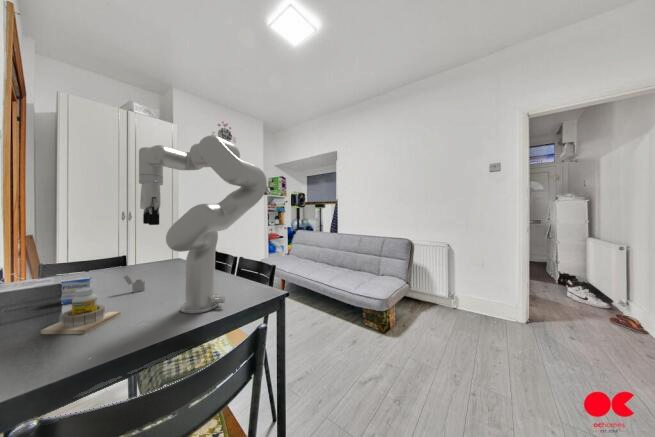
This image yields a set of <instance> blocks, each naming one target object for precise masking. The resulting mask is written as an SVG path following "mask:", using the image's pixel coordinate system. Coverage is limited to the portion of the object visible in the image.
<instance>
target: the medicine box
mask: <svg viewBox="0 0 655 437" xmlns="http://www.w3.org/2000/svg"><path fill="white" fill-rule="evenodd" d="M60 282H61V283H62V291H63V295H62V303H63V305H69V304H72V300H73V298H74V297H76V295H75V291H76V290H78V289H82V288H90V287H92V276H85V277H77V278H75V277H74V278H67V279H66V278H65V279H62V280H60ZM68 303H69V304H68Z"/></svg>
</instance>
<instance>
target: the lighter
mask: <svg viewBox="0 0 655 437" xmlns="http://www.w3.org/2000/svg"><path fill="white" fill-rule="evenodd" d="M122 277H123V279H124V281H126V283H127V284H128V285H132V287H131V288H132V289H131V290H132V293H140V292H145V291H146V290H145V284H146V281H145V280H143V279H142V278H138V279H135V281H132V280H131V278H130V277H129V275H128V274H125V275H123V276H122Z"/></svg>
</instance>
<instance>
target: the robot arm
mask: <svg viewBox="0 0 655 437" xmlns="http://www.w3.org/2000/svg"><path fill="white" fill-rule="evenodd" d="M164 168H168V169H169V168H170V169H174V170H178V171H198V170H201V169H203V168H211V169H212V170H213V171H214V172H215V173H216V174H217V175H218V176H219V178H221V179H222V180H223V181H224V182H225V183H228V184H229V185H232V186H235V187H239V188H237V189H234V190H233V191H232V192H230V193H228V195H226V196H225V197H224V198H223V199H222V200H220V201H219V202H218V203H200V204H197V205H195V206H192V207H191V208H189V209H188V211H186V212H185V213H184V214H183V215H182V216H181V217H180V218H178V220H176V221H175V222H174V223H172V225H171V226H170V227H169V229H168V231H167V232H166V235H165V243H166V245H167V247H168V248H169V249H170V250H172V251H173V252H174V251H175V252H187V256H186V259H185V302H184V303H182V304H181V305H180V312H182V313H185V314H201V313H206V312H210V311H211V310H214V309H216V308H217V307H219V305H220V304H225V302H226V297H225V296H224V295H218V291H216V290H215V289H216V286H215V285H216V282H215V281H216V279H215V278H216V250H217V244H218V240H219V232H222V231H225V230H227V229H228V228H230V227H231V226H232V225H234V224H235V223H236V221H238V220H239V219H241V217H243V216H244V215H245V214H246V213H247V212H248V211H249V210H251V209H252V208H253V207H254V206H256V205H257V204H258V202H260V201H261V199H262V198H263V196H264V195H265V193H266V190H267V184H268V183H267V177H266V175H265V172H264V171H263V170H262V169H261V168H260V167H258V166H257V165H255V164H252V163H250V162H248V161H245V160H242V159H241V154H240V151H239V149H238V147H237V146H236V145H235V144H233V143H231V142H230V141H228V140H226V139H224V138H221V137H220V136H216V135H206V136H204V137H202V138H201V139H200V141H199V143H195V144H193V145H192V146H191V147H190V148H189V151H187V152H186V151H181V150H179V149H175V148H172V147H169V146H165V145H161V144H157V145H152V146H150V147H148V146H147V147H146V146H143V147H140V148H139V149H138V184H140V185H141V186H140V201H139V202H140V204H139V208H140V209H141V210H143V214H142V216H143V217H142V219H143V220H142V223H143V224H144V225H146V224H148V225H149V226H159V225H160V209H161V186H163V185H164Z"/></svg>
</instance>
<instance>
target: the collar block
mask: <svg viewBox="0 0 655 437" xmlns="http://www.w3.org/2000/svg"><path fill="white" fill-rule="evenodd" d="M121 313H122V312H121V311H106V307H105V305H104V304H97V310H96V311H94V312H91V313H87V314H83V315H76V316H72V309H70V310H67V311H65V312H64V313H62V314H61V320H60V321H59V322H57V323H54V324H52V325H49V326H47V327H45V328H43V329H41V330H40V335H86V334H88V333H90V332H91V331H93V330H96V329H98V328H99V327H101V326H104V325H105V324H107V323H109V322H111V321H112V320H114V319H116V318H118V317H120V316H121Z"/></svg>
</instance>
